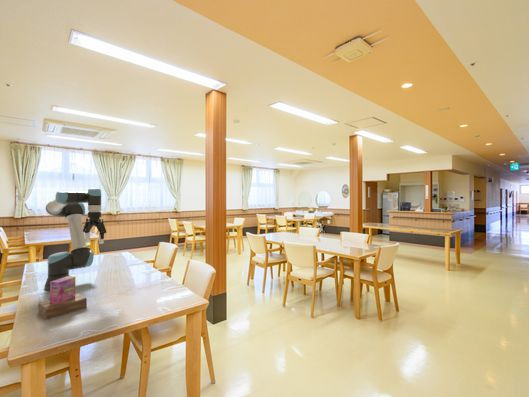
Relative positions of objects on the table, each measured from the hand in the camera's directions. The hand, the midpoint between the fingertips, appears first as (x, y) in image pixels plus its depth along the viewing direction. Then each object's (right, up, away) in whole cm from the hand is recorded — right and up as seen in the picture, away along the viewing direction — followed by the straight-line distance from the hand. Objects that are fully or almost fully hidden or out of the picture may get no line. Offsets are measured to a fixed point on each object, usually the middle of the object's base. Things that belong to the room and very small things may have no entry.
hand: (94, 243), depth 178 cm
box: (+3, -26, -32) cm, 41 cm away
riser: (+3, -32, -32) cm, 45 cm away
